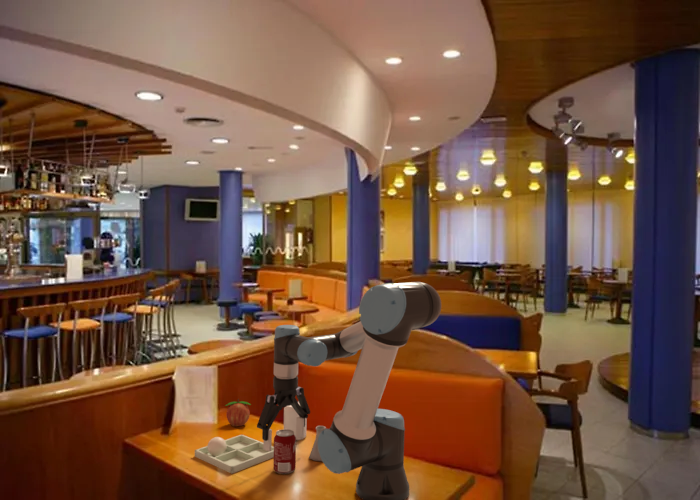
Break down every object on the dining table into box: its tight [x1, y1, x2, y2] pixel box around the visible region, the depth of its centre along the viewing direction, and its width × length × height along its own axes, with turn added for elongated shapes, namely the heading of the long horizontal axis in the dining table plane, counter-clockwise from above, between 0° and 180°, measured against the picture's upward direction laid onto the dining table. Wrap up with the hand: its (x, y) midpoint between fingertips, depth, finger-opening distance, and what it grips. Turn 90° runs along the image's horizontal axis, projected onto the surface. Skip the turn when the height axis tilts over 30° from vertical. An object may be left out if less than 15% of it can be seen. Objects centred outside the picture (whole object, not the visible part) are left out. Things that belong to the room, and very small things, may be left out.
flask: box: [308, 425, 327, 462], centre depth 181 cm, size 7×7×10 cm
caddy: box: [194, 434, 274, 475], centre depth 179 cm, size 19×19×3 cm
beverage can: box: [283, 400, 308, 441], centre depth 199 cm, size 8×8×12 cm
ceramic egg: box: [206, 436, 226, 457], centre depth 179 cm, size 6×6×6 cm
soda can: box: [273, 428, 297, 475], centre depth 171 cm, size 7×7×12 cm
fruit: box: [224, 398, 252, 427], centre depth 211 cm, size 9×10×10 cm
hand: (284, 443), depth 171 cm, fingers open, 13 cm apart
